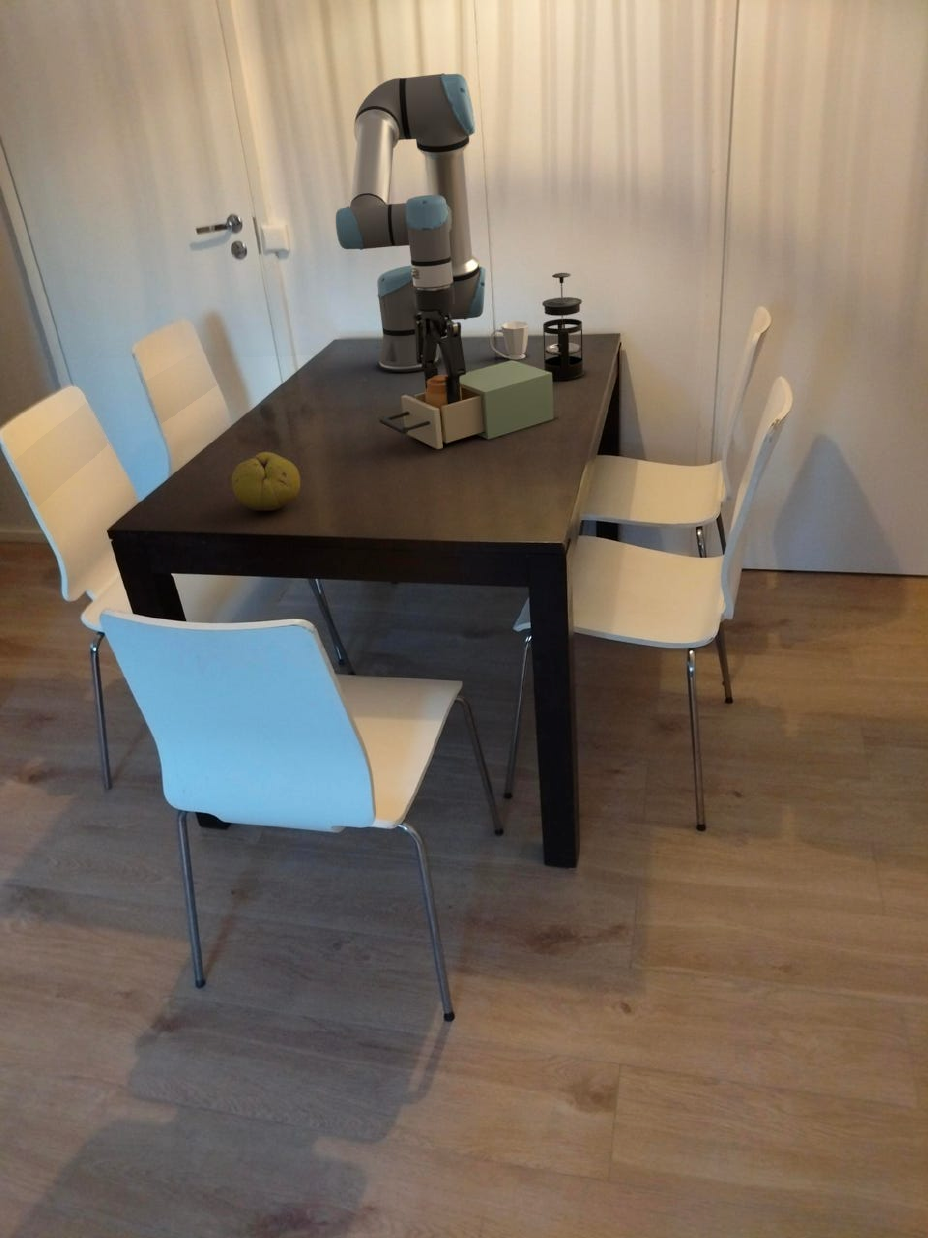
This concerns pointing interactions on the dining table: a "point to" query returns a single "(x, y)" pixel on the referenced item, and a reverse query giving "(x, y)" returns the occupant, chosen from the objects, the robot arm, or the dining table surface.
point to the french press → (563, 336)
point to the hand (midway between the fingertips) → (444, 404)
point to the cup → (513, 339)
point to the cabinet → (511, 396)
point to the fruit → (265, 482)
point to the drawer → (439, 419)
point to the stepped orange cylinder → (437, 392)
